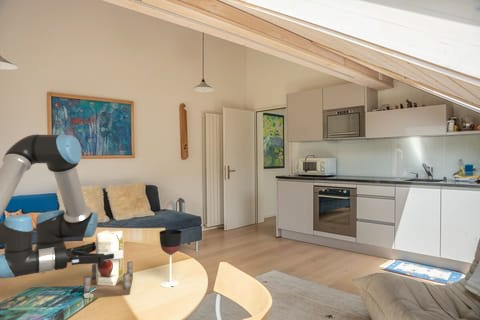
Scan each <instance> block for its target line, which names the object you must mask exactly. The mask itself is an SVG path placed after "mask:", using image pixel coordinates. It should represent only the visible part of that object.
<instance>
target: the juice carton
mask: <svg viewBox="0 0 480 320" xmlns="http://www.w3.org/2000/svg"><path fill="white" fill-rule="evenodd" d="M124 243H125V242H124V231H123V230H109V229H105V230H102V231H100V232H98V233H97V234H96V239H95V245H96V250H95V253H97V254H103V253H104V252H110V251H117V250H123V252H124ZM123 274H124V257H123V258H118V259H112V260H106V261H104V264H101V263H97V264H96V281H97V285H101V286H115V285H117V284H118V283H119V282H120V281H122V279H123Z"/></svg>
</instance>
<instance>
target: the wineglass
mask: <svg viewBox="0 0 480 320" xmlns="http://www.w3.org/2000/svg"><path fill="white" fill-rule="evenodd" d="M181 242H182V231H181V230H179V229H165V230H160V231H159V243H160V248H161V250H162V251H163V252H164V253H166V254H167V255H169V280H168V279H167V280H168V281H167V280H164V281H162V282H161V283H160V286H161V287H163V288H172V287H171V286H175V285H178V283H179V282H180V281H179V280H177V281H175V279H172V255H174V254H175V253H177V252H178V251H179V249H180V247H181V244H182V243H181ZM178 281H179V282H178ZM178 286H179V285H178ZM175 287H176V286H175Z"/></svg>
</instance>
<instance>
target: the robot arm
mask: <svg viewBox="0 0 480 320" xmlns="http://www.w3.org/2000/svg"><path fill="white" fill-rule="evenodd" d="M82 156H83V154H82V145H81V144H80V141H79V140H78V138H76V136H73V135H69V134H31V135H28V136H25V137H22V138H21V139H19V140H18V141H17V142H15V143H14V144H12V146H11V147H9V149H7V151H6V152H5V154H4V156H3V157H2V163H3V164H1V167H0V219H2V216H3V215H4V212H5V210H6V209H7V207H8V204H9V203H10V201H11V199H12V197H13V195H14V193H15V192H16V189H17V188H18V186H19V184H20V183H21V180H22V178H23V177H24V174H25V173H26V172H27V171H29V170H30V169H31V167H32V166H33V165H35V164H45V165H46V167H47V169H48V171H49V172H51V173H53V175H54V178H55V181H56V184H57V188H58V190H59V194H60V197H61V201H62V204H63V208H64V209H57V210H50V211H46V212H41V213H39V214H37V215H36V219H35V248H34V247H33V238H34V235H33V234H34V233H33V232H34V226H33V217H32V216H31V215H29V214H14V215H13V214H12V215H9V216H5V218H4V221H0V247H4V253H2V254H0V279H9V278H17V277H23V276H28V275H33V274H40V273H41V274H45V273H46V272H51V271H53V270H54V271H58V270H65V269H67V267H68V264H69V263H71V265H72V266H75V265H85V264H86V265H91V264H92V265H93V264H97V263H101V264H104V261H106V260H112V259H118V258H123V259H124V251H123V250H117V251H110V252H104V253H103V254H97V253H96V241H94V242H93V241H92V242H90V243H88V244H87V243H86V244H83V245H79V246H75V247H68V248H67V246H66V242H65V239H85V238H92V237H93V236H95V234H96V231H97V228H98V223H99V222H98V221H99V216H98V213H96V212H92V210H91V208H90V207H89V206H88V205H87V204H86V201H85V196H84V194H83V193H84V192H83V190H82V189H83V188H82V186H81V181H80V177H79V174H78V169H77V166H78V165H79V163H80V161H81V159H82ZM33 248H34V250H33ZM94 252H95V253H94Z"/></svg>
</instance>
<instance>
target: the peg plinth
mask: <svg viewBox="0 0 480 320" xmlns="http://www.w3.org/2000/svg"><path fill="white" fill-rule="evenodd" d="M133 264H134V263H133V261H131V260H129V261H127V264H126V265H127V270H126V273H123V279H122V281H120V282H119V283H118V284H117V285H115V286H101V285H97V281H96V264H92V265H91V276H90V275H89V276H85V277H84V278H83V284H84V285H83V295H84V294H85V293H89V292H90V289H93V288H94V287H97V289H96V290H94V291H92V292H90V293H91V294H93V295H94V297H95V298H94V299H98V298H100V299H101V298H108V297H109V298H111V297H119V296H129V295H130V294H131V290H132V289H131V288H132V284H133V279H134V274H133V269H134V268H133Z"/></svg>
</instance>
